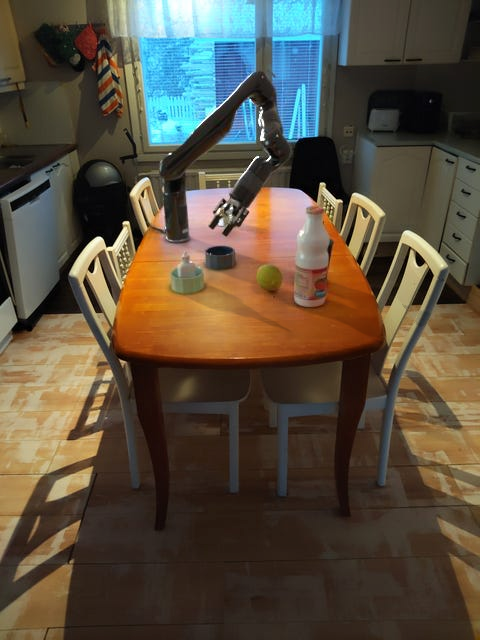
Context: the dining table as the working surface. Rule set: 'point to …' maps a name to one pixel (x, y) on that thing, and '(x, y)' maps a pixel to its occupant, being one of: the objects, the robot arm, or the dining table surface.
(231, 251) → the slate cup
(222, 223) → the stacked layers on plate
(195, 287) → the celadon cup
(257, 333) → the dining table surface
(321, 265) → the fruit juice
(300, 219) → the dining table surface
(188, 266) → the eye dropper bottle
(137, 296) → the dining table surface
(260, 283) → the lemon
